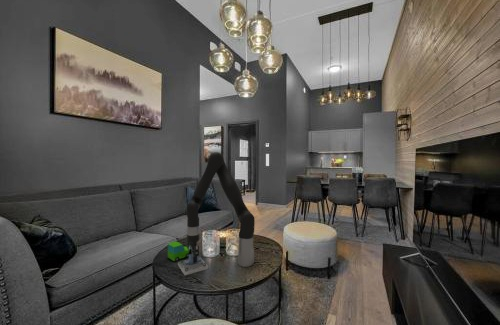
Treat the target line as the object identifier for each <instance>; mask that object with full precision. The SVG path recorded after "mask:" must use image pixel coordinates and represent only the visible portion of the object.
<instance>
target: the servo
mask: <svg viewBox="0 0 500 325" xmlns="http://www.w3.org/2000/svg"><path fill="white" fill-rule="evenodd" d="M199 256H200V255H199ZM199 256H197V262H195V263H198V262H199V260H203V258H202V257H200V258H199ZM188 259H189V260H188ZM188 259H187V260H188V261H185V263H186V264H187V263H189V265H191V264H195V263H194V262H193V254H189V257H188Z"/></svg>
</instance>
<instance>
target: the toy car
mask: <svg viewBox="0 0 500 325" xmlns="http://www.w3.org/2000/svg"><path fill="white" fill-rule="evenodd" d="M167 258H168V259H170V260H171V261H173V262H177V263H178V262H179V261H180V260H182V259H184V258H186V259H189V251H188V248H187V246H184V245H183V244H182V243H180V242H178V241H173V242H169V243H167Z"/></svg>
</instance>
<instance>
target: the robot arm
mask: <svg viewBox="0 0 500 325" xmlns="http://www.w3.org/2000/svg"><path fill="white" fill-rule="evenodd" d="M215 175H217V177H218V180H219V183H220V185H221V188H222V191H223V193H224V194H225V196H226V198H227V199H228V201H229V203H230V204H231V206H232V207H233V209H234V211H235V213H236V217H237V220H238V223H239V232H238V251H237V252H238V253H237V255H238V260H237V262H238V265H239V266H240V267H243V268H247V267H251V266H253V264H255V248H254V234H255V224H256V223H255V222H256V221H255V220H256V219H255V216H254V215H253V214H252V212H251V211H250V210H249V209H248V208H247V207H248V206H247V205H246V204H245V202H244V200H243V195H242V192H241V189H240V187H239V186H238V184H237V182H236V180H235V178H234V177H233V176H232V174H231V172H230V171H229V168H228V167H227V165H226V162H225V159H224V155H223V154H222V153H220V152H218V151H215V152H211V154H209V156H208V161H207V164H206V167H205V170H204V172H203V175H202V176H201V178H200V179H199V182H197V185H196V187H195V189H194V191H193V196H192V197H191V198H190V201H189V202H188V203H187V204H186V208H185V209H186V217H187V222H186V223H187V225H186V226H187V227H186V242H187V246H186V247H187V248H188V251H189V254H193V262H194V263H195V262H197V256H200V247H199V246H200V245H198V244H197V242H199V241H200V216H199V209H200V208H201V206H202V203H203V201H204V198H205V196H206V195H207V193H208V192H209V188H210V186H211V185H212V181H213V179H214V177H215Z"/></svg>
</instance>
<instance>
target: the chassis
mask: <svg viewBox="0 0 500 325" xmlns="http://www.w3.org/2000/svg"><path fill="white" fill-rule="evenodd" d="M199 258H201V256H200V255H199ZM188 260H189V258H187V259H185V260H183V259H179V261H177V266H178V268H179V269H180V271H181V272H182V274H183V275H184V276H187V275H188V276H189V275H191V274H195V273H199V272H202V271H206V270H209V265H208V264H207V263H206V262H205V260H204V259H202V260H199V262H198V263H195V264H191V265H189V263H187V264H186V263H185V261H188Z"/></svg>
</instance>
